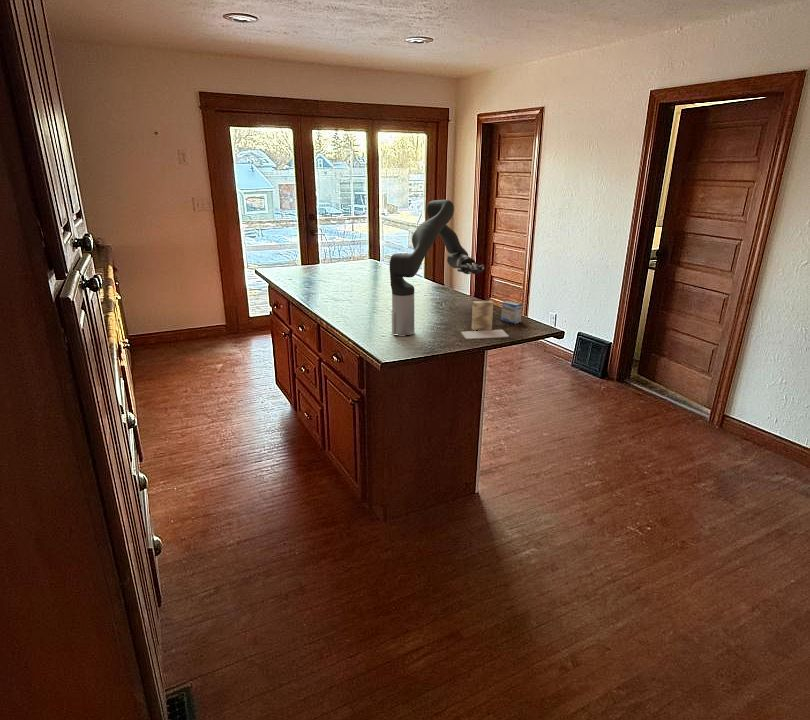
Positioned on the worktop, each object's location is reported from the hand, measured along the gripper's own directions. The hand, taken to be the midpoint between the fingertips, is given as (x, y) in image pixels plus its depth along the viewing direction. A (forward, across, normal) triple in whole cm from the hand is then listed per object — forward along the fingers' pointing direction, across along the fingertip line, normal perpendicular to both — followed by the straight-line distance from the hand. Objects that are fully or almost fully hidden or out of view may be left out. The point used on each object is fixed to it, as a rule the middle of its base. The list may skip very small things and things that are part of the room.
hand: (475, 272), depth 226 cm
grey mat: (+21, -1, +22) cm, 30 cm away
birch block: (+13, 0, +22) cm, 25 cm away
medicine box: (+4, +16, +22) cm, 28 cm away
